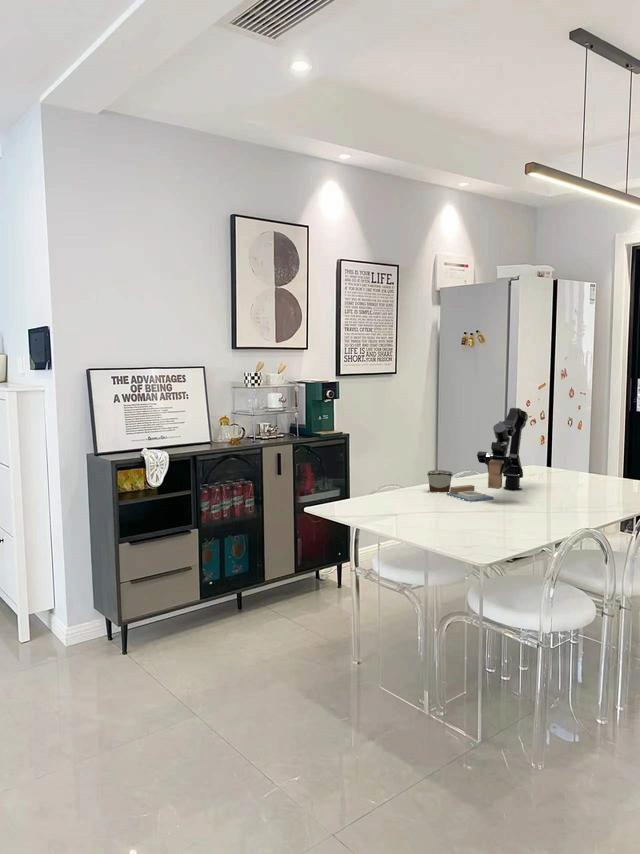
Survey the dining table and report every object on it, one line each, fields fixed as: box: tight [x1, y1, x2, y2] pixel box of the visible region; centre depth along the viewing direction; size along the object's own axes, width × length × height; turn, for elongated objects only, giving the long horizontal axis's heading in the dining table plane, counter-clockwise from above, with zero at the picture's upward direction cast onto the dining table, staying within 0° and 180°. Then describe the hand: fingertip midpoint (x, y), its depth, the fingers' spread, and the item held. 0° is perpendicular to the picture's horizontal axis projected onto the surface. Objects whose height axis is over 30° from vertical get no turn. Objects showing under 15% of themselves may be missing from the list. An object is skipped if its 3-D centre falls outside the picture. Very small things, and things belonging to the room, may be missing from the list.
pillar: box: [487, 460, 503, 490], centre depth 310 cm, size 5×5×12 cm
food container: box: [427, 469, 453, 493], centre depth 334 cm, size 12×6×10 cm, turn 84°
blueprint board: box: [446, 484, 495, 502], centre depth 322 cm, size 14×17×4 cm
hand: (494, 473), depth 308 cm, fingers closed on pillar, 5 cm apart
